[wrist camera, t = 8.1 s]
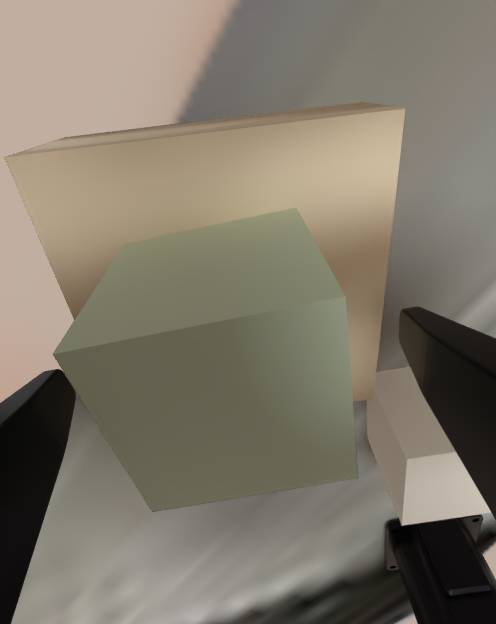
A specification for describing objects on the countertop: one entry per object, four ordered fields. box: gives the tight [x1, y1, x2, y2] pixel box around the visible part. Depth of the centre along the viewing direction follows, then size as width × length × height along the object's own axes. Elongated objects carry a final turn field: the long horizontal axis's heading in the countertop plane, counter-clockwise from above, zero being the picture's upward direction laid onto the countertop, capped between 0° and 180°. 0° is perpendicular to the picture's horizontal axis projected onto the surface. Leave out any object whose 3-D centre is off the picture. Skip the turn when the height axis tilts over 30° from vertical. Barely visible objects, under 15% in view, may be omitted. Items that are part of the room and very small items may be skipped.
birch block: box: [5, 102, 405, 402], centre depth 13 cm, size 10×10×4 cm
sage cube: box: [53, 207, 358, 512], centre depth 9 cm, size 5×5×5 cm
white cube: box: [367, 366, 491, 526], centre depth 17 cm, size 5×5×5 cm
